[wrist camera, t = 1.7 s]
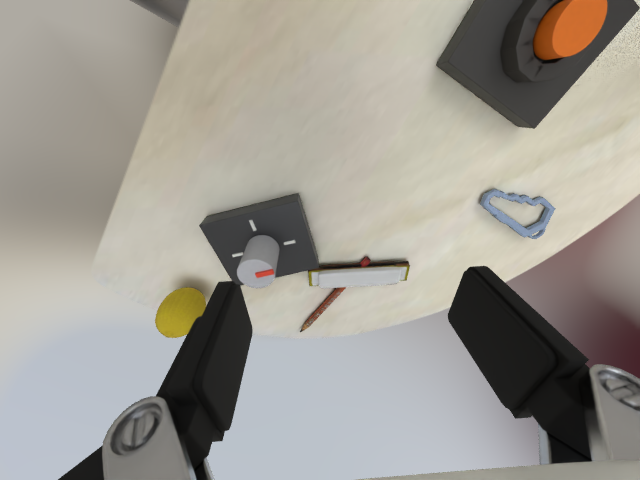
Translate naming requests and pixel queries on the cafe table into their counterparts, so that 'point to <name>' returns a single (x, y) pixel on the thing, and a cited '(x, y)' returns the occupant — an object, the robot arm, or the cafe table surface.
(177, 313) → the lemon
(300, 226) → the timer panel
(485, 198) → the blue flat open loop
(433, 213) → the cafe table surface
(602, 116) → the cafe table surface
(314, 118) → the cafe table surface
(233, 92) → the cafe table surface
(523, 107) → the button block
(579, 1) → the button
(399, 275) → the harmonica
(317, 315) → the pencil
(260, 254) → the timer dial
